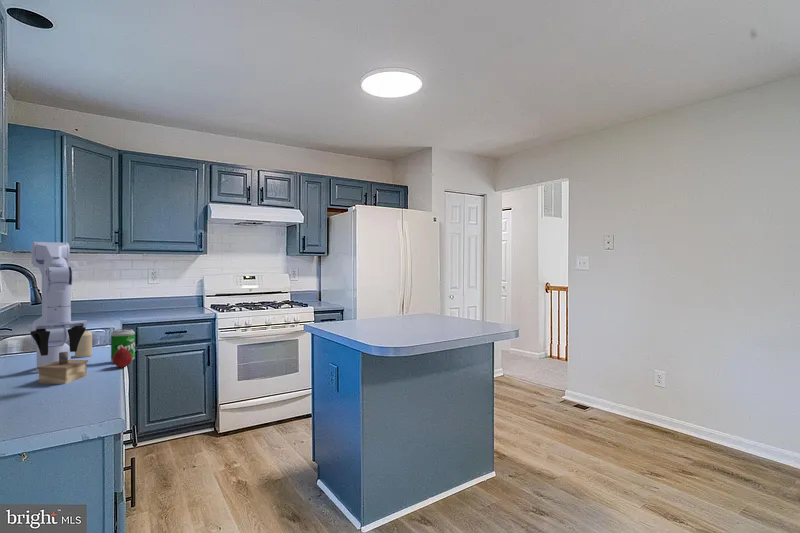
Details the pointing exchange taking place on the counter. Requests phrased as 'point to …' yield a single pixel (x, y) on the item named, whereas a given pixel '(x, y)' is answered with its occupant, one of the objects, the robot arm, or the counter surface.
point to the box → (61, 375)
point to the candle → (84, 345)
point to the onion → (122, 357)
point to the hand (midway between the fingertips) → (59, 353)
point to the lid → (63, 362)
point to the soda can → (123, 341)
